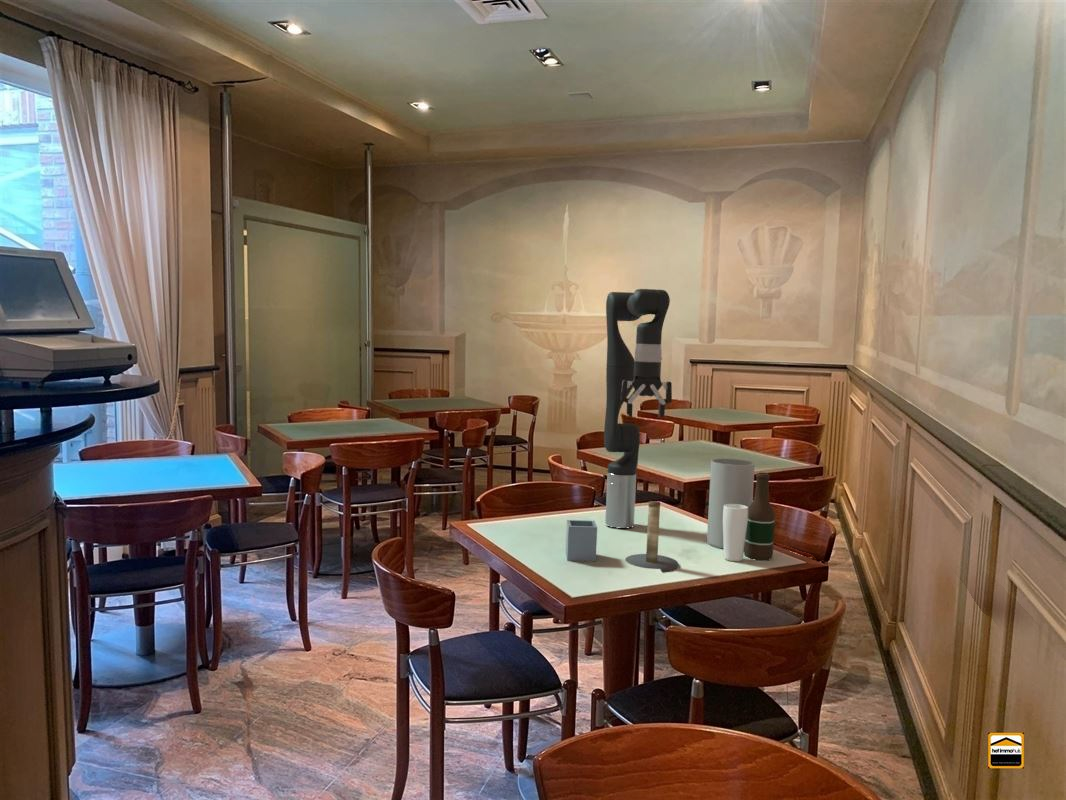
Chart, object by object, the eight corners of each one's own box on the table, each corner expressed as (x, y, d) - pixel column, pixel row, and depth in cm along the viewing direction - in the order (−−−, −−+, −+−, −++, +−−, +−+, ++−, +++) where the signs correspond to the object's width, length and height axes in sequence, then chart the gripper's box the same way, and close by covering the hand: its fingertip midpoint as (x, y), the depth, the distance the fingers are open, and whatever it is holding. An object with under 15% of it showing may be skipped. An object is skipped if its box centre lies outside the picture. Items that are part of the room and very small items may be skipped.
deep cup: (565, 555, 215) (566, 519, 214) (592, 556, 215) (594, 520, 214) (567, 563, 207) (568, 526, 206) (595, 564, 207) (597, 527, 206)
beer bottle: (759, 562, 215) (764, 476, 213) (738, 555, 221) (742, 471, 219) (778, 559, 219) (783, 474, 217) (757, 552, 225) (761, 470, 224)
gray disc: (622, 556, 216) (622, 553, 216) (672, 557, 216) (672, 554, 216) (629, 571, 202) (629, 567, 202) (682, 572, 202) (683, 569, 202)
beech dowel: (644, 559, 211) (647, 501, 209) (656, 559, 211) (659, 501, 210) (646, 562, 208) (649, 503, 206) (658, 563, 208) (661, 503, 206)
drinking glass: (715, 556, 219) (718, 504, 218) (736, 555, 221) (738, 503, 220) (729, 563, 212) (732, 509, 211) (750, 561, 215) (753, 508, 214)
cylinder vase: (755, 551, 227) (760, 466, 225) (712, 549, 227) (716, 464, 225) (743, 540, 239) (747, 459, 237) (702, 538, 239) (706, 458, 237)
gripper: (670, 360, 224) (667, 417, 225) (620, 359, 224) (618, 415, 225) (675, 361, 217) (672, 419, 218) (624, 359, 216) (621, 417, 217)
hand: (645, 417), depth 221 cm, fingers open, 8 cm apart
